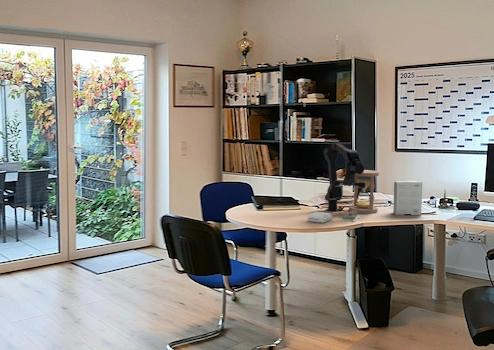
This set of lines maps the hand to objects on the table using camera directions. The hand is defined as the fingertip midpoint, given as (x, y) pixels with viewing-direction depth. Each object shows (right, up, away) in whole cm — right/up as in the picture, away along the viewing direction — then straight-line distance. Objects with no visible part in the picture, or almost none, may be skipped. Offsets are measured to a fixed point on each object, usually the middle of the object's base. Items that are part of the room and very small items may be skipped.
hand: (349, 198), depth 312 cm
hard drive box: (+37, -10, +10) cm, 40 cm away
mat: (+1, -11, -3) cm, 12 cm away
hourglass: (+12, -9, +19) cm, 24 cm away
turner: (0, -11, -4) cm, 12 cm away
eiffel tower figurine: (+67, -9, +31) cm, 75 cm away
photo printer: (-16, -10, -8) cm, 20 cm away
